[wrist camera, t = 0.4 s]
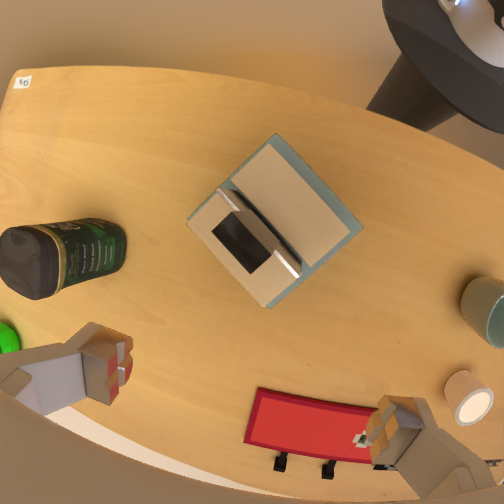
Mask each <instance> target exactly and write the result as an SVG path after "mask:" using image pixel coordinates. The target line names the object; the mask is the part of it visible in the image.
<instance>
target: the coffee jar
mask: <svg viewBox="0 0 504 504" xmlns="http://www.w3.org/2000/svg"><path fill="white" fill-rule="evenodd" d="M125 245H126V244H125V236H124V233H123V231H122V230H121V229H120V228H119V227H118V226H117V225H115V224H113V223H110V222H107V221H104V220H100V219H94V218H87V219H79V220H73V221H66V222H57V223H49V224H39V225H23V226H18V227H11V228H8V229H7V230H5V231H4V232H3V233H2V235H1V236H0V277H1V278H2V280H3V281H4V283H5V284H6V285H7V286H8V287H10V288H11V289H12V290H14V291H15V292H17V293H19V294H20V295H22V296H24V297H26V298H29V299H31V300H39V299H43V298H47V297H50V296H52V295H55V294H56V293H57V292H59V291H60V290H61V289H63V288H66V287H68V286H71V285H75V284H78V283H81V282H84V281H87V280H91V279H94V278H98V277H101V276H105V275H108V274H112V273H114V272H116V271H118V270H119V269H120V267H121V266H122V263H123V260H124V255H125Z"/></svg>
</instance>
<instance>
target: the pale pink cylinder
mask: <svg viewBox="0 0 504 504" xmlns="http://www.w3.org/2000/svg"><path fill="white" fill-rule="evenodd" d="M444 395H445V397H446V400H447V402H448V404H449V406H450V409H451V411H452V414H453V416H454V418H455V421H456V422H457V423H458V424H459V425H462V426H468V425H472V424H474V423H476V422H477V421H479V420H480V419H482V418H483V417H484V416H485V415H486V414H487V412H488V411H489V409H490V408H491V406H492V403H493V400H494V398H493V393H492V391H491V390H490V389H489V388H488V387H487V386H486V385H485V384H484V383H483V382H481V381H480V380H479V379H478V378H477V377H476V376H475V375H473V374H472V373H471V372H470V371H467V370H462V371H458V372H456V373H455V374H453V375H452V376H451V377H450V378H449V379H448V381H447V382H446V384H445V387H444Z"/></svg>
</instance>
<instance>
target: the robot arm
mask: <svg viewBox="0 0 504 504" xmlns="http://www.w3.org/2000/svg"><path fill="white" fill-rule="evenodd" d="M438 4H439V5H440V7H441V8H442V9H443V10H444V12H445V13H446V14H447V15H448V17H449V18H450V21H451V23H452V25H453V27H454V29H455V31H456V33H457V34H458V36H459V37H460V39H461V40H462V41H463V43H464V44H465V45H466V46H467V47H468V48H469V49H470V50H471V51H472V52H473V53H474V54H475V55H477V56H478V57H479V58H481V59H482V60H484V61H485V62H487V63H489V64H491V65H493V66H496V67H501V68H504V0H448V1H447V0H438ZM132 349H133V339H132V337H131V336H128V335H125V334H123V333H120V332H118V331H115V330H112V329H110V328H107V327H104V326H102V325H99V324H97V323H94V322H89V323H87V324H86V325H85V326H84V327H83V328H82V329H80V330H79V331H78V332H77V333H76V334H75V335H74V336H72V337H71V338H70V339H69V340H68V341H67V342H66V343H64V344H62V343H55V344H50V345H45V346H40V347H35V348H30V349H25V350H20V351H14V352H9V353H3V354H0V504H504V484H502V485H498V486H497V485H496V483H495V481H494V478H493V476H492V474H491V472H490V470H489V468H488V465H487V463H486V462H485V461H483V460H482V459H481V458H479V457H478V456H477V455H476V454H474V453H473V452H472V451H470V450H469V449H468V448H466V447H465V446H464V445H463V444H461V443H460V442H459V441H457V440H456V439H455V438H454V437H452V436H451V435H450V434H448V433H447V432H446V431H445V430H443V429H439V428H438V426H437V423H436V421H435V419H434V417H433V415H432V412H431V410H430V408H429V406H428V404H427V402H426V400H425V399H424V398H423V397H401V396H391V395H384V396H383V397H382V398H381V399H380V400H379V402H378V407H379V409H378V410H376V411H375V412H373V413H372V414H371V416H370V418H369V420H368V422H367V426H366V437H367V440H368V441H369V442H370V443H371V444H372V445H371V447H370V448H369V452H370V457H371V462H372V464H384V465H394V467H395V468H396V469H397V470H398V472H399V473H400V474H401V475H402V476H403V478H404V479H405V480H406V481H407V483H408V484H409V485H410V486H411V487H412V489H413V490H414V491H415V492H416V493H417V495H418V496H419V497H420V498H421V499H417V500H406V501H390V502H333V501H317V500H305V499H295V498H286V497H279V496H272V495H265V494H259V493H253V492H248V491H242V490H237V489H233V488H228V487H223V486H219V485H214V484H211V483H207V482H202V481H199V480H195V479H192V478H188V477H185V476H182V475H178V474H175V473H171V472H168V471H165V470H162V469H159V468H156V467H153V466H151V465H148V464H145V463H142V462H140V461H137V460H134V459H132V458H129V457H127V456H124V455H122V454H119V453H117V452H115V451H112V450H110V449H108V448H105V447H103V446H101V445H99V444H96V443H94V442H92V441H90V440H88V439H86V438H83V437H82V436H80V435H77V434H76V433H74V432H72V431H70V430H68V429H66V428H64V427H62V426H60V425H58V424H57V423H55V422H53V421H51V420H49V419H48V418H46V417H44V416H45V415H48V414H50V413H52V412H55V411H57V410H59V409H62V408H64V407H66V406H69V405H71V404H73V403H76V402H78V401H80V400H82V399H85V398H86V396H87V397H89V398H92V399H94V400H96V401H99V402H101V403H104V404H106V405H109V406H110V405H111V404H112V402H113V401H114V399H115V398H116V397H117V395H118V394H119V387H120V386H123V385H125V384H126V382H127V381H128V379H129V377H130V374H131V371H132V366H133V358H132V357H131V355H130V353H129V352H130V351H131V350H132Z"/></svg>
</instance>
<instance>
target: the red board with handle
mask: <svg viewBox="0 0 504 504" xmlns="http://www.w3.org/2000/svg"><path fill="white" fill-rule="evenodd" d="M376 410H377V409H370V408H363V407H356V406H349V405H343V404H337V403H331V402H325V401H320V400H315V399H309V398H304V397H300V396H295V395H290V394H285V393H281V392H277V391H272V390H268V389H264V388H260V387H258V390H257V394H256V398H255V402H254V405H253V409H252V413H251V417H250V420H249V424H248V427H247V431H246V435H245V438H244V442H243V443H247V444H251V445H255V446H259V447H263V448H268V449H272V450H277V451H282V452H281V455H280V457H277V456H276V459H275V463H274V469H273V470H274V471H279V472H285V469H286V463H287V458H286V457H287V454H288V453H292V454H298V455H303V456H309V457H316V458H322V459H329V460H330V461H329V463H328V465H324V464H323V466H322V479H330V480H332V479H333V477H334V466H335V464H336V461H345V462H355V463H365V464H372V462H371V457H370V452H369V448H370V447H371V445H372V444H371V443H370V442H369V441H368V440H367V437H366V426H367V422H368V420H369V418H370V416H371V414H372V413H373V412H375V411H376ZM361 435H363V437H362V440H359V439H360V437H361ZM373 470H390V471H398V470H397V469H396V468H395V467H394V465H384V464H376V465H375V467H374V468H373Z"/></svg>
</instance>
